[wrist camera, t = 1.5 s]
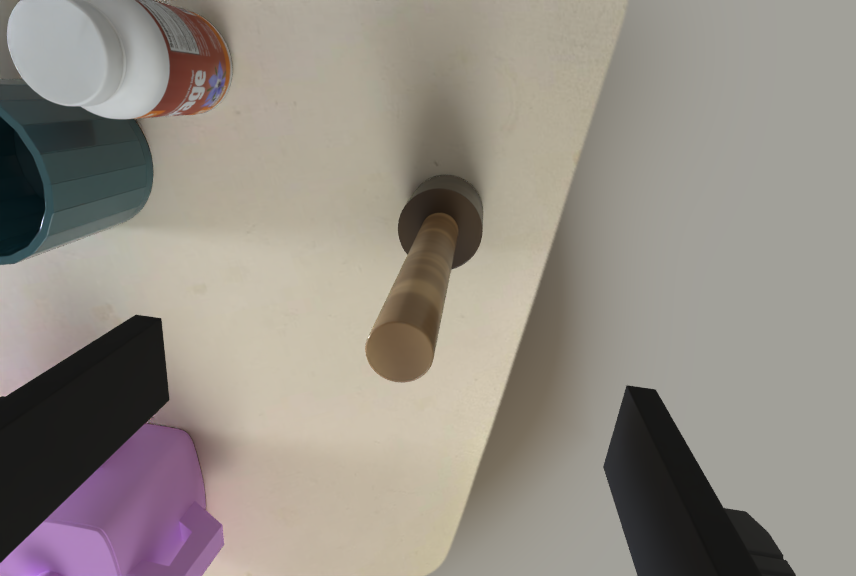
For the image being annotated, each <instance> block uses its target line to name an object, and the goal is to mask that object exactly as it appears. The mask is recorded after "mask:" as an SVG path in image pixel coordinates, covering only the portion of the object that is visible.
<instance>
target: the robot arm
mask: <svg viewBox="0 0 856 576" xmlns="http://www.w3.org/2000/svg"><path fill="white" fill-rule="evenodd" d="M168 401H169V392H168V382H167V372H166V361H165V351H164V341H163V331H162V321H161V318H155V317H148V316H141V315H135V316H133V317H131V318H130V319H128V320H127V321H125V322H123V323H122V324H120V325H119V326H117V327H115V328H114V329H112V330H111V331H109V332H108V333H106V334H104V335H103V336H101V337H100V338H98V339H96V340H95V341H93V342H92V343H90V344H89V345H87V346H85V347H84V348H82V349H81V350H79V351H77V352H76V353H74V354H73V355H71V356H69V357H68V358H66V359H65V360H63V361H62V362H60V363H58V364H57V365H55V366H54V367H52V368H50V369H49V370H47V371H46V372H44V373H42V374H41V375H39V376H38V377H36V378H35V379H33V380H31V381H30V382H28V383H27V384H25V385H23V386H22V387H20V388H19V389H17V390H15V391H14V392H12V393H11V394H9V395H8V396H6V397H3V396H2V397H0V563H1V562H2V561H3V560H4V559H5V558H6V557H7V556H8V555H9V554H10V553H11V552H12V551H13V550H14V549H16V548H17V547H18V546H19V545H20V544H21V543H22V542H23V541H24V540H25V539H26V538H27V537H28V536H29V535H30V534H31V533H32V532H33V531H34V530H35V529H36V528H37V527H38V526H39V525H40V524H41V523H42V522H43V521H45V520H46V519H47V518H48V517H49V516H50V515H51V514H52V513H53V512H54V511H55V510H56V509H57V508H58V507H59V506H60V505H61V504H62V503H63V502H64V501H65V500H66V499H67V498H68V497H69V496H70V495H71V494H72V493H74V492H75V491H76V490H77V489H78V488H79V487H80V486H81V485H82V484H83V483H84V482H85V481H86V480H87V479H88V478H89V477H90V476H91V475H92V474H93V473H94V472H95V471H96V470H97V469H98V468H99V467H100V466H101V465H102V464H104V463H105V462H106V461H107V460H108V459H109V458H110V457H111V456H112V455H113V454H114V453H115V452H116V451H117V450H118V449H119V448H120V447H121V446H122V445H123V444H124V443H125V442H126V441H127V440H128V439H129V438H130V437H131V436H133V435H134V434H135V433H136V432H137V431H138V430H139V429H140V428H141V427H142V426H143V425H144V424H145V423H146V422H147V421H148V420H149V419H150V418H151V417H152V416H153V415H154V414H155V413H156V412H157V411H158V410H159V409H160V408H162V407H163V406H164V405H165V404H166V403H167V402H168ZM604 471H605V474H606V477H607V480H608V483H609V486H610V490H611V493H612V496H613V499H614V502H615V505H616V509H617V512H618V515H619V518H620V521H621V524H622V528H623V531H624V534H625V537H626V540H627V544H628V547H629V550H630V553H631V556H632V559H633V563H634V566H635V569H636V572H637V575H638V576H796V575H795V573H794V571H793V570H792V568H791V567H790V565H789V564H788V562H787V561H786V560H784V559H783V554H782V553H781V551H780V550H779V548H778V547H777V545H776V544H775V542H774V540H773V539H772V537H771V536H770V534H769V533H768V532H767V531H766V530H765V529H764V528H763V527H762V526H761V525H760V524H759V523H758V522H757V521H755V520H754V519H753V518H752V517H751V516H750V515H749V514H748V513H747V512H745V511H739V510H733V509H725V508H723V506H722V505H721V503H720V501H719V499H718V498H717V496H716V494H715V492H714V491H713V489H712V487H711V485H710V484H709V482H708V480H707V478H706V477H705V475H704V473H703V471H702V470H701V468H700V466H699V464H698V463H697V461H696V459H695V458H694V456H693V454H692V452H691V451H690V449H689V447H688V445H687V444H686V442H685V440H684V438H683V437H682V435H681V433H680V431H679V430H678V428H677V426H676V424H675V423H674V421H673V419H672V418H671V416H670V414H669V412H668V410H667V409H666V407H665V405H664V403H663V402H662V400H661V398H660V397H659V395H658V393H657V391H656V390H654V389H648V388H641V387H634V386H626V390H625V393H624V397H623V400H622V403H621V407H620V411H619V414H618V417H617V421H616V425H615V428H614V432H613V435H612V438H611V442H610V445H609V449H608V453H607V456H606V459H605V463H604Z"/></svg>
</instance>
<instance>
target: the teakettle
mask: <svg viewBox="0 0 856 576" xmlns="http://www.w3.org/2000/svg"><path fill="white" fill-rule="evenodd" d="M223 545H224V538H223V526H222V524H221V523H219V522H218V521H217V520H216V519H215V518H214V517H213V516H211V515H210V514H209V513H208V512H207V511H206V500H205V489H204V482H203V477H202V473H201V469H200V464H199V461H198V457H197V453H196V450H195V447H194V444H193V441H192V439H191V437H190V436H189V434H188V433H187V432H185V431H183V430H180V429H176V428H171V427H165V426H159V425H152V424H146V423H145V424H144V425H143V426H142V427H141V428H140V429H139V430H138V431H137V432H136V433H135V434H134V435H133V436H131V437H130V438H129V439H128V440H127V441H126V442H125V443H124V444H123V445H122V446H121V447H120V448H119V449H118V450H117V451H116V452H115V453H114V454H113V455H112V456H111V457H110V458H109V459H108V460H107V461H106V462H105V463H104V464H102V465H101V466H100V467H99V468H98V469H97V470H96V471H95V472H94V473H93V474H92V475H91V476H90V477H89V478H88V479H87V480H86V481H85V482H84V483H83V484H82V485H81V486H80V487H79V488H78V489H77V490H76V491H75V492H74V493H72V494H71V495H70V496H69V497H68V498H67V499H66V500H65V501H64V502H63V503H62V504H61V505H60V506H59V507H58V508H57V509H56V510H55V511H54V512H53V513H52V514H51V515H50V516H49V517H48V518H47V519H46V520H45V521H43V522H42V523H41V524H40V525H39V526H38V527H37V528H36V529H35V530H34V531H33V532H32V533H31V534H30V535H29V536H28V537H27V538H26V539H25V540H24V541H23V542H22V543H21V544H20V545H19V546H18V547H17V548H16V549H14V550H13V551H12V552H11V553H10V554H9V555H8V556H7V557H6V558H5V559H4V560H3V561H2V562H1V563H0V576H202V575H203V574H204V572H205V571H206V569H207V568H208V567H209V565H210V564H211V562H212V561H213V559H214V558H215V557H216V555H217V554H218V552H219V551H220V550H221V548H222V547H223Z"/></svg>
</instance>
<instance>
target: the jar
mask: <svg viewBox="0 0 856 576" xmlns="http://www.w3.org/2000/svg"><path fill="white" fill-rule="evenodd" d="M152 183H153V164H152V157H151V153H150V150H149V146H148V144H147V141H146V139H145V137H144V135H143V133H142V131H141V129H140V127H139V126H138V124H137V123H136V121H135V120H134V119H111V118H105V117H102V116H99V115H96V114H93V113H91V112H89V111H87V110H86V109H84V108H82V107H81V106H64V105H60V104H56V103H53V102H51V101H49V100H47V99H45V98H43V97H42V96H40V95H39V94H38V93H36V92H35V91H34V90H33V89H32V88H31V87H30V86H29V85H28V84H27V83H26V82H25V81H24V79H0V265H6V264H15V263H18V262H21V261H23V260H26V259H29V258H31V257H34V256H37V255H40V254H42V253H45V252H48V251H50V250H53V249H56V248H59V247H61V246H64V245H67V244H69V243H72V242H75V241H78V240H80V239H83V238H86V237H88V236H91V235H94V234H97V233H99V232H102V231H105V230H107V229H110V228H112V227H114V226H116V225H119V224H121V223H124V222H126V221H128V220H130V219H131V218H133V217H134V216H135V215H136V214H138V213H139V212H140V210H141V209H142V208H143V207H144V205H145V203H146V202H147V200H148V197H149V195H150V192H151V188H152Z"/></svg>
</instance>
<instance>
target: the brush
mask: <svg viewBox="0 0 856 576" xmlns="http://www.w3.org/2000/svg"><path fill="white" fill-rule="evenodd" d="M482 229H483V206H482V201H481V198H480V196H479V194H478V193H477V191H476V190H475V188H474V187H473V186H472V185H471V184H470V183H468V182H467V181H465V180H464V179H462V178H459V177H456V176H452V175H440V176H435V177H433V178H430V179H428V180H426V181H425V182H424V183H422V184H421V185H420V186H419V187H418V189H417V190H416V191H415V193H414V194H413V195H412V197H411V198H410V200H409V201H408V202H407V204H406V205H405V207H404V209H403V210H402V213H401V215H400V218H399V223H398V234H399V239H400V242H401V245H402V247H403V249H404V251H405V252H406V253H407V257H406V259H405V261H404V263H403V265H402V268H401V270H400V272H399V274H398V276H397V278H396V280H395V282H394V284H393V286H392V288H391V290H390V293H389V295H388V297H387V299H386V301H385V303H384V305H383V307H382V309H381V311H380V313H379V315H378V318H377V320H376V322H375V324H374V326H373V328H372V330H371V332H370V334H369V336H368V338H367V341H366V346H365V352H366V357H367V360H368V362H369V364H370V366H371V367H372V368H373V370H374V371H375V372H376V373H377V374H379V375H380V376H382V377H383V378H385V379H387V380H390V381H394V382H410V381H414V380H416V379H418V378H420V377H422V376H423V375H424V374H425V373H426V372H427V371H428V370H429V368H430V367H431V365H432V362H433V358H434V353H435V348H436V343H437V338H438V333H439V328H440V323H441V318H442V313H443V308H444V303H445V298H446V293H447V288H448V283H449V278H450V273H451V269H454V268H457V267H459V266H461V265H463V264H465V263H466V262H467V261H468V260H470V259H471V258H472V256H473V255H474V254H475V253H476V251H477V249H478V247H479V245H480V242H481V238H482Z"/></svg>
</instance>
